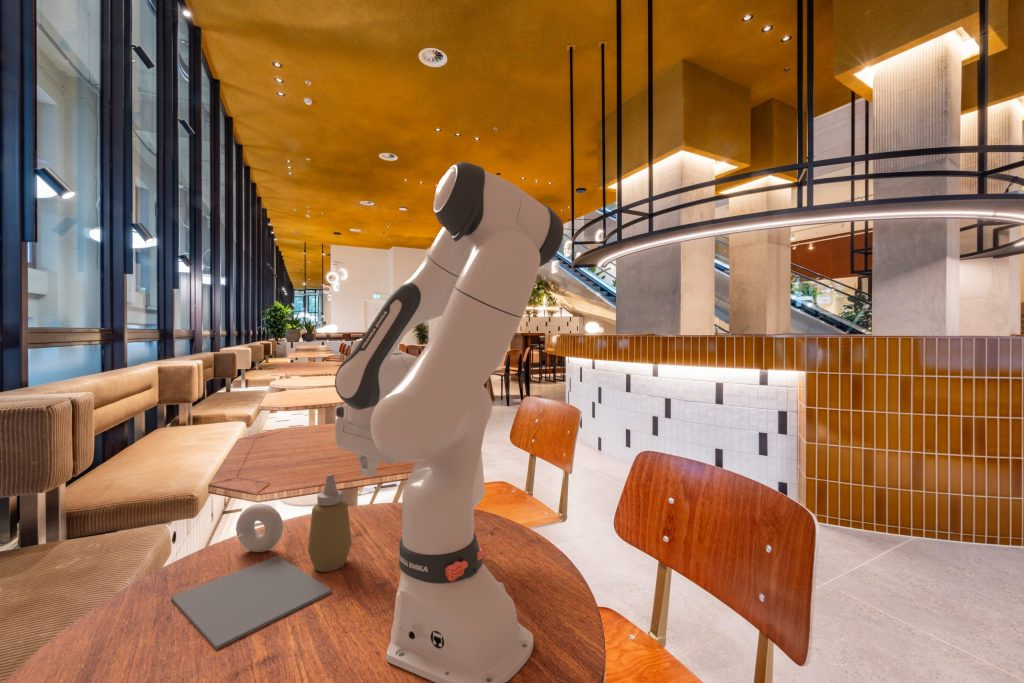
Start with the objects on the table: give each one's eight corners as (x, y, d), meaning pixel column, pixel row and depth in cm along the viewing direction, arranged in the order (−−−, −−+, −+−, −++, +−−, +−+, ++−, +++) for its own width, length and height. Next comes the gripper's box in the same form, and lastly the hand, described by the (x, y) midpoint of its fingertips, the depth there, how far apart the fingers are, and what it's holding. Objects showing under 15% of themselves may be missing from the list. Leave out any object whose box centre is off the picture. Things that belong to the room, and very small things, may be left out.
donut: (286, 548, 94) (286, 502, 94) (276, 556, 91) (276, 508, 91) (243, 546, 96) (243, 500, 95) (232, 553, 92) (231, 506, 92)
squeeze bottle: (341, 576, 84) (342, 482, 83) (299, 575, 84) (299, 481, 84) (357, 555, 92) (357, 469, 91) (319, 554, 92) (319, 468, 92)
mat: (331, 592, 78) (331, 589, 78) (216, 649, 64) (216, 646, 64) (278, 558, 90) (278, 555, 90) (171, 599, 76) (171, 596, 76)
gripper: (412, 416, 91) (410, 483, 91) (355, 404, 103) (354, 462, 104) (387, 421, 86) (385, 491, 86) (330, 407, 98) (328, 468, 99)
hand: (367, 475), depth 95 cm, fingers closed
